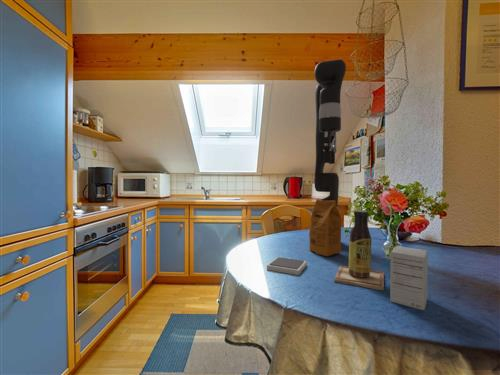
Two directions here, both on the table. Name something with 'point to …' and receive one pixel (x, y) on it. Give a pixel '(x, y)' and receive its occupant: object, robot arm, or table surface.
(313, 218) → the coffee package
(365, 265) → the sauce bottle
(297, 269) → the ink pad
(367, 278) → the marked board
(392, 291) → the supplement box
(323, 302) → the table surface
